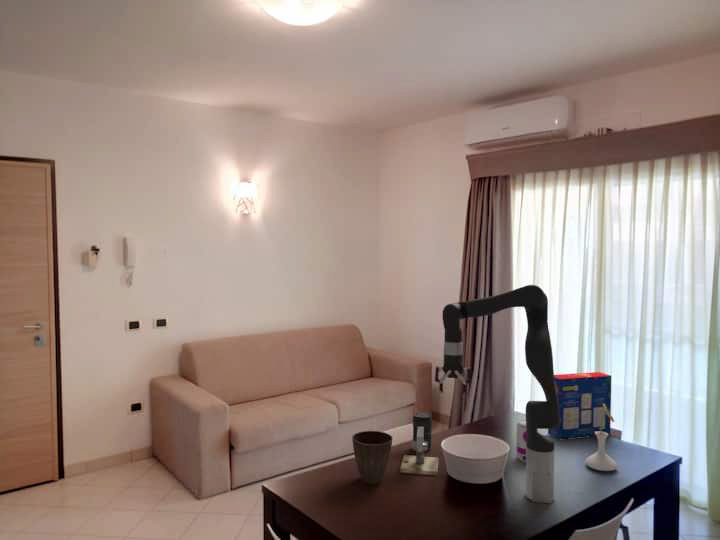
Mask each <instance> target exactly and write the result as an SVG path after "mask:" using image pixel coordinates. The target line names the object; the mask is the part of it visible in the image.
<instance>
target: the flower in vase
mask: <svg viewBox="0 0 720 540" xmlns="http://www.w3.org/2000/svg"><path fill="white" fill-rule="evenodd" d="M603 407H604V409H605V411H606V412H605V414H604V416H605V415H608V416H609V418H610V419H611V421H610V422H612V423H614V422H616V421H615V419H614V417H613V416H612V415H610V412H609V410H607V407H606V405H605V404H604V403H603ZM604 416H603V418H604ZM603 418H602V420H603ZM602 420H601V421H600V422H601V425H602V427H601V428H600V429H601V431H597V432H595V434H596V436H595V437H596V438H597V445H598V448H597V451H596V452H594V453H593V454H591V455H589V456H588V457H586V459H585V461H584V462H585V464H586V466H587V467H590V468H591V469H593V470H597V471H601V472H610V471H615V470H616V469H617V468H618V465H617V463H616V462H615V460H614V459H612V458H611V456H609V455H608V454H607V453H606V449H605V444H606V439H607V437H608V436H610V435H609V434H608V433H606V432H602V429H604V428H605V427H604V426H603V424H602Z"/></svg>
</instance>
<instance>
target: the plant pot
mask: <svg viewBox="0 0 720 540" xmlns="http://www.w3.org/2000/svg"><path fill="white" fill-rule="evenodd" d="M351 438H352V439H351V441H352V448H353V452H354V458H355V463H356V467H357V471H358V474H359V476H360V479H361V482H363V483H364V484H368V485H377V484H381V482H382V481H383V479H384V475H385V474H386V473H385V472H386V471H387V470H386V469H387V466H388V464H389V459H390V455H391V450H392V445H393V440H394V439H393V436H392V435H391V434H389V433H387V432H383V431H377V430H365V431H359V432H356V433H354V434H353V435H351Z"/></svg>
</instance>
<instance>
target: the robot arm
mask: <svg viewBox="0 0 720 540" xmlns="http://www.w3.org/2000/svg"><path fill="white" fill-rule="evenodd" d="M510 308H524V310H525V311H524V312H525V314H526V321H527V330H526V331H527V332H526V337H525V343H524V350H525V351H524V354H525V365H526V366H527V368H528V370H529V371H530V373H531V374H532V376H533V377H534V378H535V379H536V381H537V383H539V385H540V387H541V389H542V390H543V394H544V396H545V400H529V401H527V403H526V405H525V420H526V462H525V497H526V498H527V499H529V500H530V501H531V502H533V503H541V504H552V502H553V501H554V499H555V495H554V493H555V491H554V490H555V446H556V445H555V441H554V440H553V439H552V437H549V436H546V435H544V434H541V433H540V432H539V431H538V432H537V429H538V430H539V429H540V430H541V429H545V430H548V429H557V428H558V427H559V425H560V412H559V405H558V400H557V394H556V388H555V381H554V375H555V372H554V370H555V369H554V356H553V348H552V347H553V346H552V341H551V334H550V330H549V329H550V328H549V322H548V321H549V320H548V318H549V317H548V316H549V313H548V311H549V300H548V296H547V294H546V293H545V292H544V290H543V289H542V288H541V287H540V286H538V285H536V284H527V285H524V286H521V287H519V288H515V289H512V290H510V291H506V292H503V293H500V294H496V295H492V296H487V297H481V298H480V297H479V298H476V299H471V300H469V301H468V300H467V301H459V302H453V303H452V302H451V303H448V304H446V305H445V306H444V307H443V310H442V314H441V315H442V323H443V330H444V340H443V341H444V344H443V366H438V365H436V367H435V374H434V382H436V383H439V392H441V394H442V393H444V381H445V380H446V379H447V378H448V379H459V381H461V383H462V395H463V394H464V395H465V393H466V392H467V385H468V384H471V383H472V375H471V367H470V366H468V367H464V366H463V364H464V362H463V359H464V357H463V355H464V354H463V353H464V351H463V348H464V347H463V329H462V328H461V327H460V320H464V319H469V318H480V317H485V316H491V315H494V314H497V313H498V312H501V311H503V310H507V309H510ZM441 371H442V372H443V373H444V374H443V375H442V377H440V378H439V375H440V374H439V373H441ZM464 372H465V374H466V375H467V379H465V377H463V376H464V375H462V374H463V373H464Z"/></svg>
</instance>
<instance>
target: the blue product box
mask: <svg viewBox="0 0 720 540" xmlns="http://www.w3.org/2000/svg"><path fill="white" fill-rule="evenodd" d="M554 381H555V388H556V394H557V400H558V405H559V412H560V425H559V427H558V428H557V429H547V435H548V434H550V435H551V436H550V435H549V436H550V437H552V436H553V437H552V438H554V437H555V438H554V439H556V438H557V439H559V440H558V441H561V440H560V439H566V440H570V439H569V438H576V439H578V438H577V437H586V438H588V437H587V436H595V437H597V436H596V434H595V432H597V431H601V429H600V428H601V427H602V425H601V422H600V421H601V420H602V418H603V416H604V414H605V412H606V411H605V409H604V407H603V403H604V404H605V405H606V407H607V410H609V412H610V415H611V410H612V375H610V374H607V373H604V372H599V371H594V372H581V373H579V372H577V373H564V374H554ZM611 416H612V415H611ZM611 422H612V421H611V419H610V418H609V416H608V415H605V416H604V418H603V420H602V424H603V426H604V427H605V428H604V429H602V432H606V433H608V434H609V435H608V436H611ZM557 439H556V440H557Z"/></svg>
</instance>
